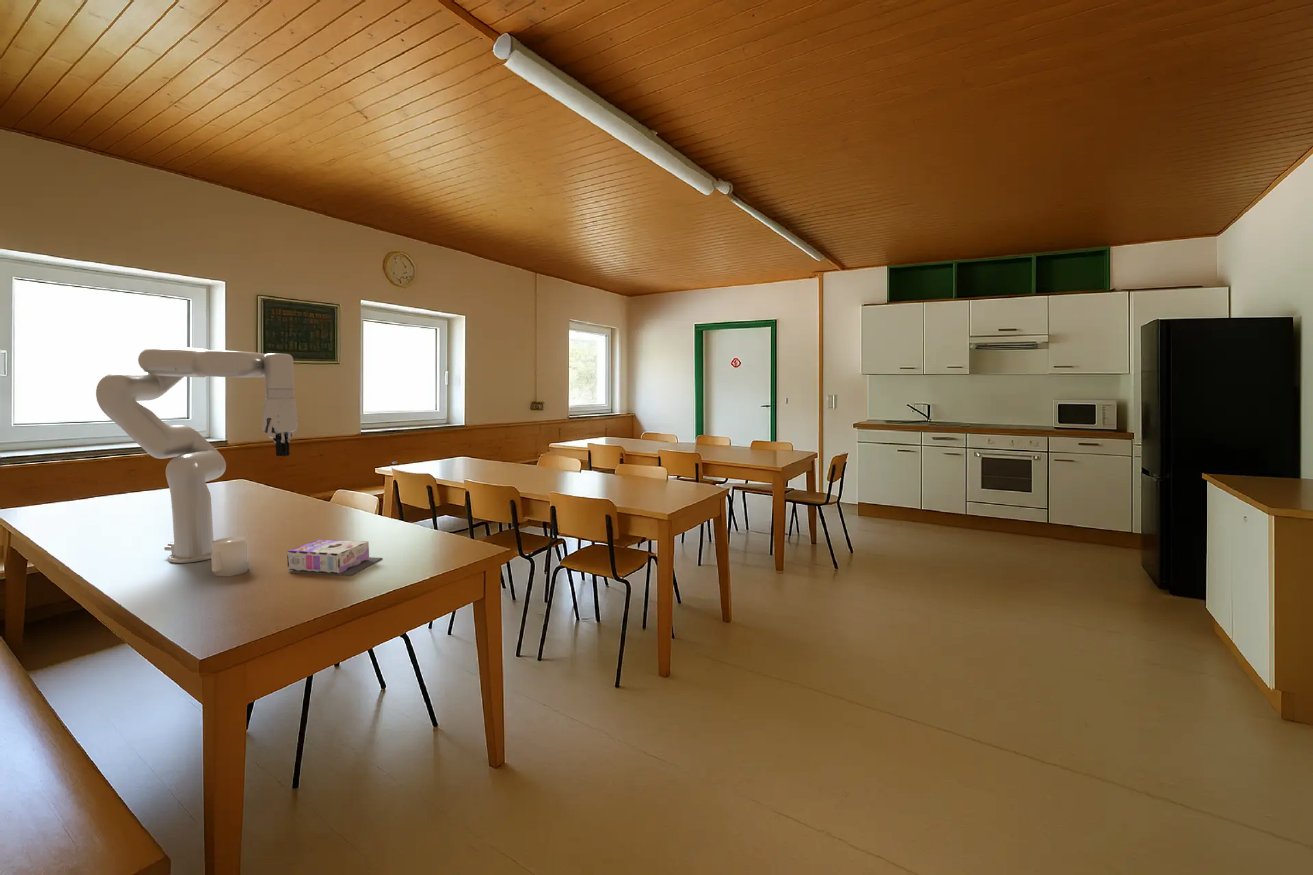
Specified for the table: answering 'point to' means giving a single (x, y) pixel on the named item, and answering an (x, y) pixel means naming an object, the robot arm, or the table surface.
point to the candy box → (328, 556)
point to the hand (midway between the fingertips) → (282, 455)
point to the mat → (349, 571)
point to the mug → (229, 556)
